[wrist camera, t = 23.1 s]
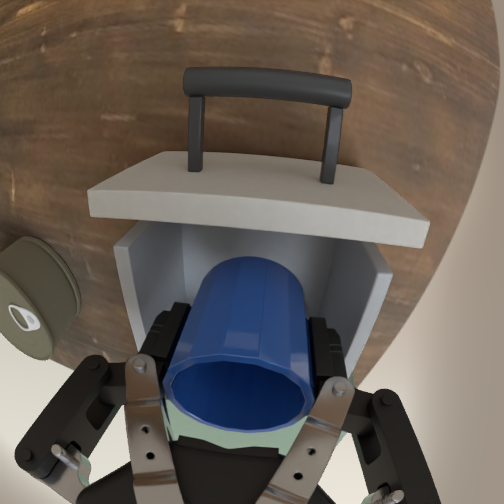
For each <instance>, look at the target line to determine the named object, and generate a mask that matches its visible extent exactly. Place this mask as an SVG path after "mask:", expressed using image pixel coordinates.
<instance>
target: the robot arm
mask: <svg viewBox="0 0 504 504" xmlns="http://www.w3.org/2000/svg"><path fill="white" fill-rule="evenodd" d="M190 307H191V306H190V304H189V303H182V302H174V304H173V306H172V308H171V310H170V311H166V310H163V311H162V312H161V313H160V314H159V315H157V316H156V318H155V320H154V322H153V325H152V326H151V328H150V331H149V332H148V334H147V336H146V338H145V340H144V342H143V344H142V346H141V348H140V350H139V352H138V354H135V355H133V356H131V357H130V358H128V360H127V361H126V362H122V363H108V362H107V360H106V359H105V358H104V357H103V356H101V355H91V356H88V357H86V358H85V359H84V360H83V361H82V362H81V363H80V365H79V366H78V367H77V368H76V369H75V371H74V372H73V373H72V374H71V376H70V377H69V378H68V379H67V381H66V382H65V383H64V384H63V386H62V387H61V388H60V389H59V391H58V392H57V393H56V394H55V396H54V397H53V398H52V399H51V401H50V402H49V404H48V405H47V406H46V407H45V409H44V410H43V411H42V413H41V414H40V415H39V417H38V418H37V419H36V421H35V422H34V423H33V425H32V426H31V427H30V429H29V430H28V431H27V433H26V434H25V435H24V437H23V438H22V440H21V441H20V442H19V444H18V445H17V447H16V449H15V460H16V462H17V464H18V465H19V467H20V468H22V469H23V470H25V471H26V472H28V473H29V474H30V475H31V476H33V477H34V478H36V479H37V480H39V481H40V482H42V483H44V484H45V485H47V486H49V487H50V488H52V489H53V490H54V491H56V492H57V493H58V494H59V495H61V496H62V497H63V498H65V499H66V500H68V501H69V502H70V503H72V504H336V503H335V502H334V501H333V500H332V499H331V498H330V497H329V496H328V495H327V494H326V493H325V491H324V490H323V489H322V488H321V487H320V486H319V485H318V482H319V480H320V478H321V476H322V474H323V472H324V470H325V468H326V466H327V464H328V462H329V460H330V457H331V455H332V453H333V451H334V449H335V446H336V444H337V442H338V439H339V437H340V434H341V431H344V432H348V433H351V434H352V437H353V440H354V444H355V447H356V451H357V454H358V458H359V461H360V464H361V468H362V471H363V475H364V478H365V482H366V486H367V489H368V493H369V495H368V496H367V497H366V498H365V499H364V500H363V502H362V503H361V504H441V502H440V499H439V496H438V493H437V490H436V487H435V484H434V482H433V479H432V476H431V473H430V471H429V468H428V466H427V463H426V460H425V458H424V455H423V452H422V450H421V447H420V445H419V442H418V440H417V437H416V435H415V433H414V430H413V428H412V425H411V423H410V421H409V418H408V416H407V414H406V412H405V409H404V407H403V405H402V402H401V400H400V398H399V396H398V395H397V394H396V393H395V392H393V391H392V390H389V389H380V390H377V391H376V392H375V393H374V394H372V393H368V392H364V391H361V390H358V389H356V388H355V387H354V385H353V384H352V382H351V381H349V380H348V377H347V372H346V366H345V360H344V355H343V350H342V346H341V345H342V344H341V339H340V336H339V334H338V333H337V332H336V330H335V329H332V328H327V325H326V319H325V318H323V317H309V330H310V341H311V352H312V364H313V378H314V392H315V401H314V403H313V406H312V408H311V409H312V410H311V411H310V413H309V415H308V417H307V419H306V421H305V422H304V424H303V426H302V428H301V430H300V432H299V434H298V435H297V437H296V439H295V441H294V443H293V444H292V446H291V448H290V449H289V451H288V453H287V455H286V456H285V455H282V454H279V448H272V447H258V446H251V447H243V448H233V449H227V448H223V447H221V446H218V445H216V444H213V443H211V442H208V441H206V440H203V439H198V438H192V437H187V436H182V435H179V437H178V440H175V437H174V434H173V431H172V427H171V423H170V418H169V413H168V408H167V403H166V398H165V390H164V387H163V383H162V381H163V378H164V375H165V373H166V370H167V367H168V364H169V362H170V359H171V356H172V354H173V351H174V349H175V346H176V343H177V341H178V338H179V336H180V333H181V330H182V328H183V325H184V323H185V320H186V318H187V315H188V313H189V310H190ZM122 405H124V411H125V421H126V430H127V438H128V445H129V453H130V459H131V461H130V462H128V463H126V464H125V465H123V466H121V467H120V468H118V469H117V470H115V471H113V472H111V473H110V474H108V475H106V476H105V477H103V478H101V479H99V480H98V481H96V482H94V483H92V484H91V485H89V481H88V480H89V475H90V472H91V464H90V462H89V460H88V458H89V456H90V454H91V453H92V451H93V450H94V448H95V446H96V445H97V443H98V442H99V440H100V439H101V437H102V435H103V434H104V432H105V431H106V429H107V427H108V426H109V424H110V423H111V421H112V420H113V418H114V417H115V415H116V413H117V412H118V410H119V409H120V407H121V406H122Z"/></svg>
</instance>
